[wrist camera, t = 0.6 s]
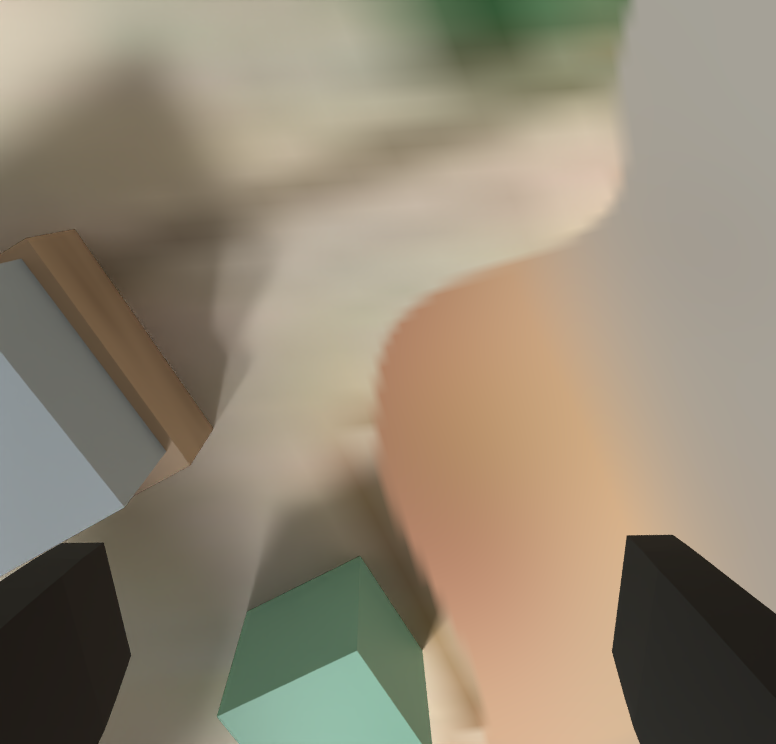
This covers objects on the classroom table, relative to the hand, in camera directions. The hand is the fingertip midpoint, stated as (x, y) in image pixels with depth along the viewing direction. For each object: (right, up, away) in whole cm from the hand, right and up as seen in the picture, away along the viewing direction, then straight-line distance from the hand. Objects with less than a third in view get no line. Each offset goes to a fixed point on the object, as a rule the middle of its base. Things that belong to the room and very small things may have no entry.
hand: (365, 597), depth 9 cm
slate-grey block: (-10, +2, +8) cm, 13 cm away
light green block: (-2, -6, +13) cm, 15 cm away
